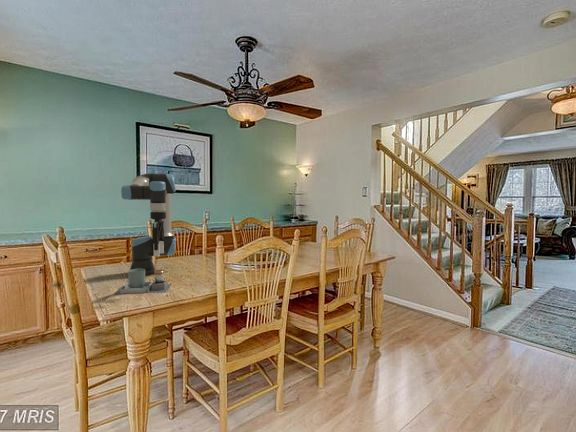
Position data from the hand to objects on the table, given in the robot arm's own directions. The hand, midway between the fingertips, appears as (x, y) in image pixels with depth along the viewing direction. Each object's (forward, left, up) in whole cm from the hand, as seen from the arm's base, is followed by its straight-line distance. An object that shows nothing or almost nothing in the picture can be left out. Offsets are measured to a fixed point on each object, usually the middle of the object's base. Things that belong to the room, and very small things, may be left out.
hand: (158, 254), depth 166 cm
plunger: (0, 0, -15) cm, 15 cm away
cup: (0, -11, -18) cm, 21 cm away
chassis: (0, -6, -19) cm, 20 cm away
